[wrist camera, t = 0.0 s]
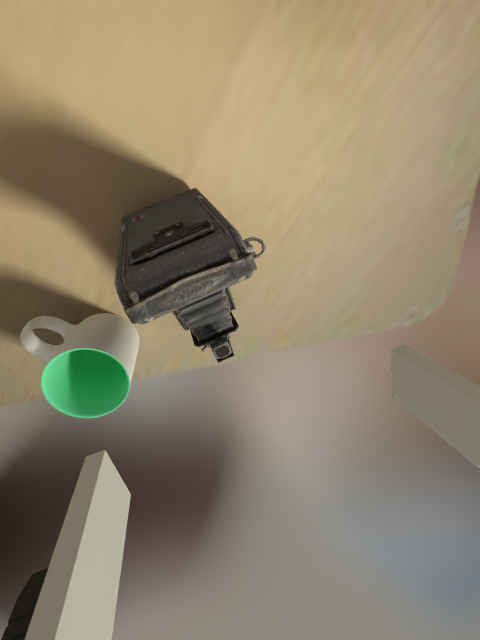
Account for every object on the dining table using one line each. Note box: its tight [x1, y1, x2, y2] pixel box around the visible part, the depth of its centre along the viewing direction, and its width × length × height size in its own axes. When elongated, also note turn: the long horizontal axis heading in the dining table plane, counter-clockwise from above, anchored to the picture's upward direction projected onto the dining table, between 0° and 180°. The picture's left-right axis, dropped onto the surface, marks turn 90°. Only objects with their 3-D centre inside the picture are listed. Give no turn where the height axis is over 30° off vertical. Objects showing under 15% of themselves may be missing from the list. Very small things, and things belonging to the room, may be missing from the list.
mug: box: [20, 313, 139, 418], centre depth 33 cm, size 12×8×10 cm, turn 53°
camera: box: [115, 188, 266, 363], centre depth 31 cm, size 11×17×20 cm, turn 18°
